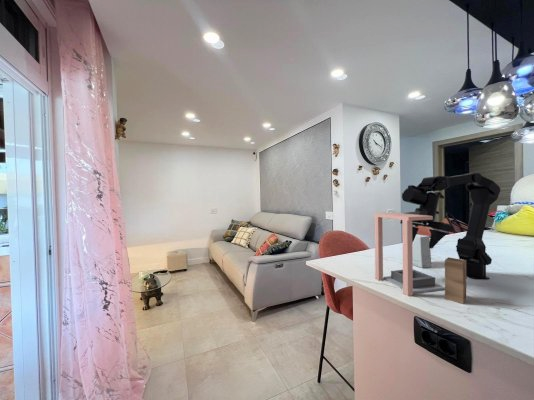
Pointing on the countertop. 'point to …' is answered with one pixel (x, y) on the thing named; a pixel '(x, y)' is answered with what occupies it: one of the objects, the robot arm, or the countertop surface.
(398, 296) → the countertop surface
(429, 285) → the socket
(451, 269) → the walnut peg
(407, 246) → the pink arch frame
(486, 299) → the countertop surface
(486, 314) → the countertop surface
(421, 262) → the skincare box
